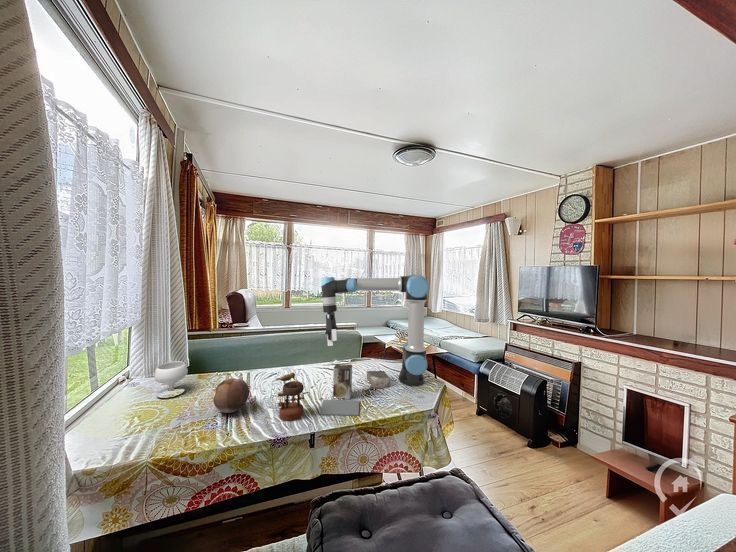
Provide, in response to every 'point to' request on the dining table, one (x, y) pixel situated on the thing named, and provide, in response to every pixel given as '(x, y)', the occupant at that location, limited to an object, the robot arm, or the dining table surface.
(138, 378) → the dining table surface
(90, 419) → the dining table surface
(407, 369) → the robot arm
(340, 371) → the coffee box
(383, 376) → the geological specimen
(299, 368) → the dining table surface
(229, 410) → the wooden sphere
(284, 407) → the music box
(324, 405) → the rubber mat
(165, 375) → the chalice
